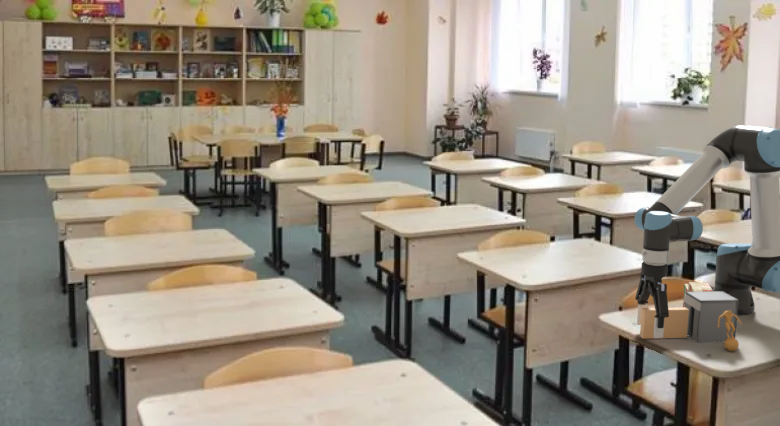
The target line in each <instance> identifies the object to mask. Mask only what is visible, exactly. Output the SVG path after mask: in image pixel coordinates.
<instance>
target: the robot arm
mask: <svg viewBox="0 0 780 426" xmlns="http://www.w3.org/2000/svg"><path fill="white" fill-rule="evenodd" d="M702 150H703V151H702V154H700V156H699V157H698V158H697V159H696V160H695V161H694V162H692V164H691V165H690V166H689V167H688V168H687V169H686V170H685V171H684V172H683V173H682V174H681V175H680V176H679V177H678V178H677V179H676V181H675V182H674V183H672V184H671V186H670V187H668V188H667V190H666V191H665V192H663V194H662V195H661V196H660V197H659V198H658V199H657V200H655V202H654V203H653V204H652V205H651V206H650V207H648V206H647V207H640V208H639V209H638V210H637V211H636V213H635V215H634V225H635V226H636V227H637V229H638V230H641V231H643V243H642V251H641V255H642V259H641V261H642V262H641V268H640V269H641V270H640V278H639V283H638V286H637V289H636V290H637V291H636V293H635V294H636V295H635V298H634V300H635V301H637V304H638V306H637V318H636V324H637V326H641V315H642V308H649V307H648V304H649V298H650V296H651V297H652V299H653V300H652V301H653V304H654V308H655V310H656V315H655V316H654V317H655V323H654V336H653V337H654V338H653V339H664V338H663V333H664V320H665V317H669V311H668V308H669V304H668V303H669V301H668V294H667V291H668V290H667V289H668V284H667V283H663V280H662V279H663V278H666V276H667V275H668V264H667V263H668V262H669V256H670V255H669V253H670V243H677V242H691V241H694V240H697V239H699V238H701V236H702V235H703V229H704V226H703V222H702V220H701V219H700V218H699V217H698V216H696V215H695V216H694V215H686V216H685V215H679V213H680V212H681V211H682V209H683V208H685V207H686V206H687V205H688V204H689V202H690V201H692V199H693V198H694V197H696V195H697V194H698V193H699V192H700V191H701V190H702V189H703V188H704V187H705V186H706V185H707V184H708V183H709V182H710V181H711V180H712V179H713V177H715V176H716V175H717V174H718V173H719V171H721V169H727V168H728V167H729V166H730V165H731V164H732V163H735V162H738V161H739V162H743V169H744V172H745V173H746V174H747V175H749V187H750V188H749V189H750V190H749V191H750V210H751V213H750V214H751V216H750V217H751V240H752V241H751V242H752V243H744V242H729V243H722V244H720V245H719V246H718V248H717V254H716V260H715V261H716V263H715V274H714V275H715V276H714V286H713V287H712V290H713V291H723V292H725V293H727V294H729V295H730V296H732V297H734V298H736V299H738V300H739V304H738V315H737V316H748V315H751V314H754V313H755V309H756V308H755V306H756V305H755V301H754V298H753V293H752V287H754V288H756V289H761V290H763V291H765V292H770V293H780V128H775V127H771V126H757V125H746V124H739V125H735V126H731V127H729V128H728V129H726V130H724V131H722V132H720V133H719V134H718V135H716V136H715V137H714V138H713V139H711V140H710V141H709V142H708V143H707V144H706V145H705V146H704V147H703V149H702Z"/></svg>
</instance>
